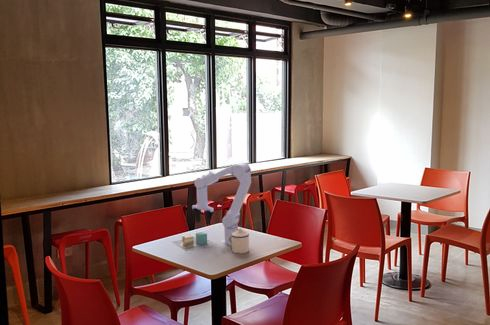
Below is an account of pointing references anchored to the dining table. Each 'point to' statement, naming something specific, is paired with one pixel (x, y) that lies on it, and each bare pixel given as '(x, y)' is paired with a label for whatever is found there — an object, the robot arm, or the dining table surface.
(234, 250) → the teacup with lid
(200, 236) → the teal block
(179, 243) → the gray board
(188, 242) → the birch block
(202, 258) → the dining table surface
